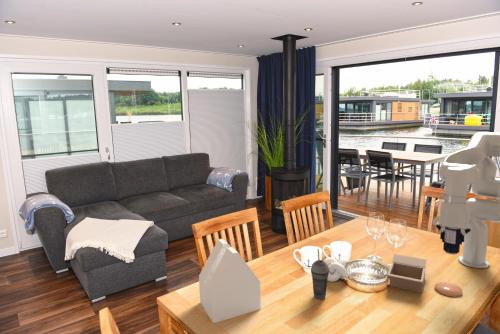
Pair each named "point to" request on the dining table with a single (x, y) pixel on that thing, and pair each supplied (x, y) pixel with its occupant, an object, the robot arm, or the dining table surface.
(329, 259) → the white decorative knot
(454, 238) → the beverage can
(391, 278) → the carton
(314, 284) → the beverage cup
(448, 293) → the coaster
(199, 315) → the dining table surface
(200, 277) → the milk carton
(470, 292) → the dining table surface
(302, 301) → the dining table surface
